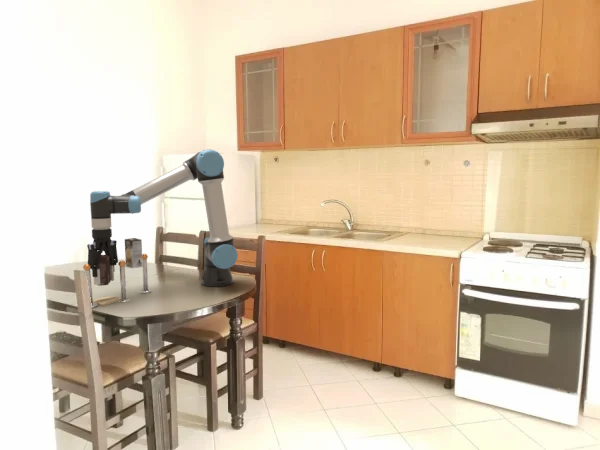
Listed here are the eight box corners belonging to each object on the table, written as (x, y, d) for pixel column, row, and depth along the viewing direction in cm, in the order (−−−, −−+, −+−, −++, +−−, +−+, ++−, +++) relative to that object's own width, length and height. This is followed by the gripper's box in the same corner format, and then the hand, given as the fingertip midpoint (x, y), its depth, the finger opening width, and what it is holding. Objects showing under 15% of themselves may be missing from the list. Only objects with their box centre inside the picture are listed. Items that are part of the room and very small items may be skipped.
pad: (122, 299, 188) (122, 297, 188) (104, 305, 179) (104, 304, 179) (106, 297, 191) (106, 295, 191) (88, 303, 182) (87, 302, 182)
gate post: (153, 291, 201) (152, 253, 199) (146, 293, 196) (145, 254, 195) (145, 290, 203) (143, 252, 201) (137, 292, 198) (136, 254, 196)
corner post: (132, 300, 188) (130, 259, 186) (124, 303, 184) (122, 262, 182) (123, 299, 190) (121, 259, 188) (115, 302, 185) (112, 261, 183)
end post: (100, 305, 179) (96, 262, 176) (90, 309, 174) (86, 265, 172) (90, 303, 181) (87, 262, 178) (80, 307, 176) (76, 264, 173)
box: (108, 285, 182) (107, 256, 180) (97, 285, 181) (95, 257, 179) (111, 281, 188) (109, 254, 186) (100, 282, 187) (98, 254, 185)
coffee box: (125, 265, 258) (123, 239, 256) (135, 264, 263) (134, 237, 261) (132, 267, 252) (131, 240, 250) (143, 266, 257) (142, 239, 255)
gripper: (112, 225, 192) (114, 276, 195) (75, 230, 173) (78, 287, 176) (126, 226, 189) (128, 277, 192) (89, 231, 171) (92, 288, 173)
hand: (104, 282), depth 184 cm, fingers closed on box, 7 cm apart
